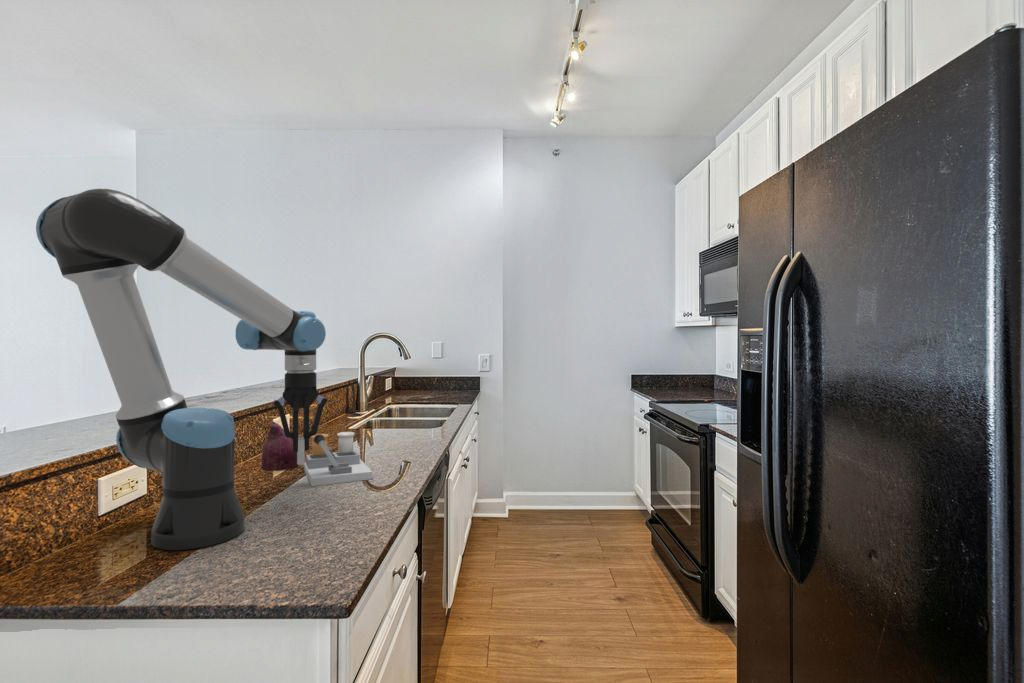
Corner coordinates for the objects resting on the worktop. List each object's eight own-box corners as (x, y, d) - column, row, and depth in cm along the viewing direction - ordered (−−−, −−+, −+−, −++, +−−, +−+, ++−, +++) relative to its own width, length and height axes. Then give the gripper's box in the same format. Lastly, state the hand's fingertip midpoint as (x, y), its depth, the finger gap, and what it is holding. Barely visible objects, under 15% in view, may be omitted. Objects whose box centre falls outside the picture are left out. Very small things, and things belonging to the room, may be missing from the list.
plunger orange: (311, 455, 140) (311, 437, 140) (309, 452, 144) (309, 434, 144) (329, 454, 142) (329, 436, 142) (327, 450, 146) (327, 433, 146)
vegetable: (276, 483, 143) (267, 434, 139) (255, 473, 149) (246, 425, 144) (309, 466, 152) (302, 420, 147) (288, 457, 157) (280, 412, 153)
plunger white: (338, 453, 143) (338, 435, 143) (336, 450, 147) (336, 432, 147) (355, 451, 145) (355, 433, 145) (352, 448, 149) (352, 431, 149)
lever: (334, 472, 135) (312, 439, 132) (332, 469, 137) (311, 437, 135) (343, 466, 136) (322, 433, 133) (341, 464, 138) (320, 431, 136)
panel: (311, 486, 130) (311, 468, 130) (304, 469, 146) (304, 453, 146) (372, 479, 137) (372, 462, 137) (358, 463, 153) (358, 448, 153)
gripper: (273, 373, 126) (273, 470, 126) (329, 372, 132) (329, 464, 132) (271, 371, 132) (272, 463, 133) (325, 370, 138) (325, 458, 139)
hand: (300, 463), depth 132 cm, fingers closed
